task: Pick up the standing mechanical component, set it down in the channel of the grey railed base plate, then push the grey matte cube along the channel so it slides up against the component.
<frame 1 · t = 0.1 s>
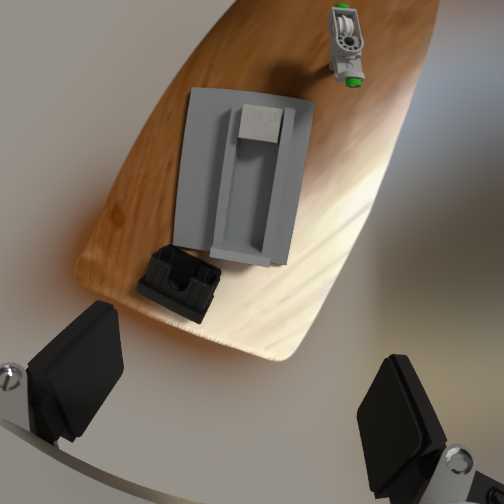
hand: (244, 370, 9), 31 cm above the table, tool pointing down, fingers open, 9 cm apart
end cap: (187, 275, 43), on the table
grey matte cube: (261, 124, 32), point 3 cm above the table, slide at 0.0 cm
grey railed base plate: (240, 173, 38), on the table
mechanical component: (334, 67, 32), on the table
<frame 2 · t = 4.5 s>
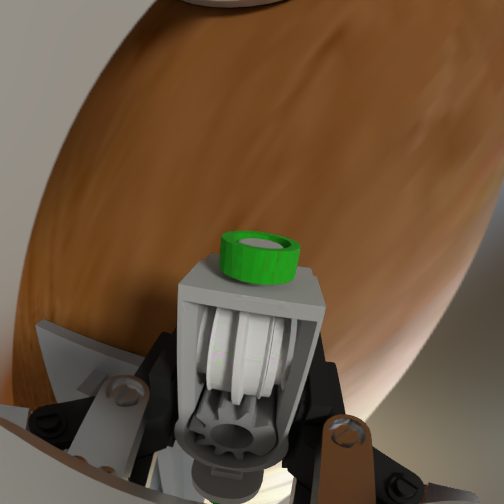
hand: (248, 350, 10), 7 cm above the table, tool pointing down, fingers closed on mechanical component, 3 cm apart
grey railed base plate: (130, 434, 22), on the table
mechanical component: (259, 294, 16), point 1 cm above the table, touching gripper
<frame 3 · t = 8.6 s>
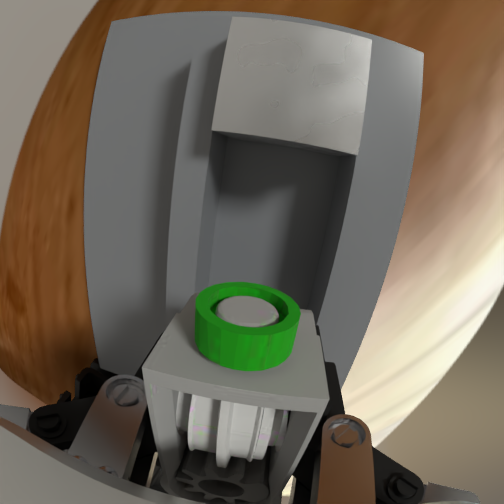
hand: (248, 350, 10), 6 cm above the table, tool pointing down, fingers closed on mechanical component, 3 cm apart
end cap: (138, 405, 20), on the table
grey matte cube: (292, 91, 9), point 3 cm above the table, slide at 0.0 cm
grey railed base plate: (229, 231, 15), on the table
mechanical component: (256, 305, 15), point 1 cm above the table, touching gripper, grey railed base plate
when the fingers open (6 cm above the table, at t = 8.9 s): mechanical component stays where it is, resting on grey railed base plate.
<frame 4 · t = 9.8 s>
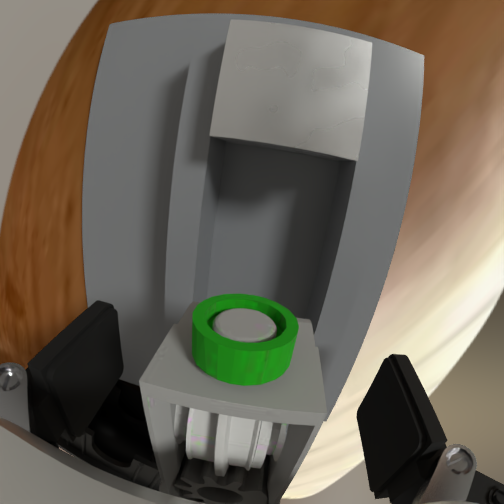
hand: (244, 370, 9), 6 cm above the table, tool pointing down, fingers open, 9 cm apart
end cap: (138, 409, 20), on the table
grey matte cube: (292, 95, 9), point 3 cm above the table, slide at 0.0 cm
grey railed base plate: (228, 235, 15), on the table
mechanical component: (255, 310, 15), point 1 cm above the table, touching grey railed base plate
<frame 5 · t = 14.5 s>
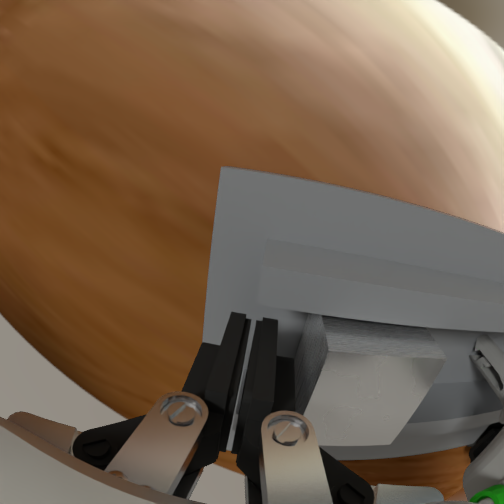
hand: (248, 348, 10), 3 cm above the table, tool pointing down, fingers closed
grey matte cube: (356, 370, 10), point 3 cm above the table, slide at 1.6 cm, touching gripper
grey railed base plate: (412, 363, 13), on the table
mechanical component: (477, 344, 11), point 1 cm above the table, touching grey railed base plate
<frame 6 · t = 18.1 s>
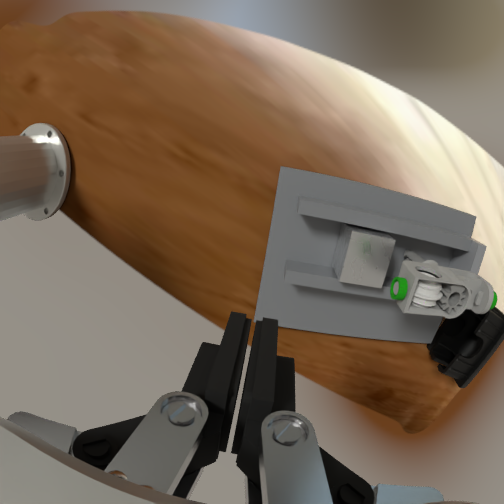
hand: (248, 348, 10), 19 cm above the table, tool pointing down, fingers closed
end cap: (459, 326, 30), on the table
grey matte cube: (362, 253, 25), point 3 cm above the table, slide at 3.9 cm
grey railed base plate: (371, 265, 28), on the table
mechanical component: (407, 256, 27), point 1 cm above the table, touching grey railed base plate
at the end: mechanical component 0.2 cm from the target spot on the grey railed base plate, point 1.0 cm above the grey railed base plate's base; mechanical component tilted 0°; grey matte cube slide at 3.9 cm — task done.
